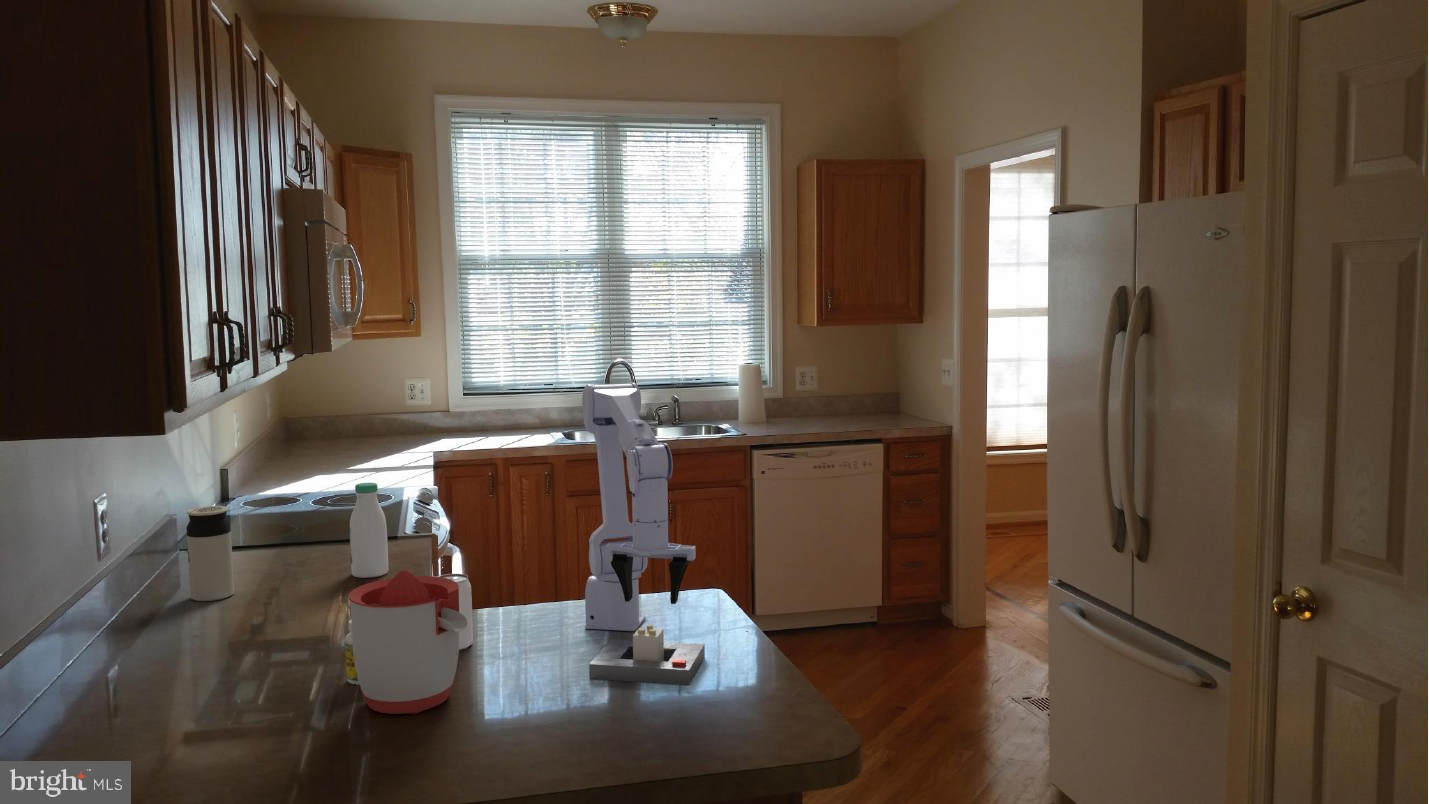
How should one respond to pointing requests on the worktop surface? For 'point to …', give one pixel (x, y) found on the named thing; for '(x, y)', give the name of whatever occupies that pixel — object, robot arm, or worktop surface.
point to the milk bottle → (368, 534)
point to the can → (464, 607)
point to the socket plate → (647, 663)
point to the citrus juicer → (406, 641)
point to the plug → (648, 644)
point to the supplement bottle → (350, 658)
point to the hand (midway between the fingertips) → (651, 601)
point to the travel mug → (210, 554)
